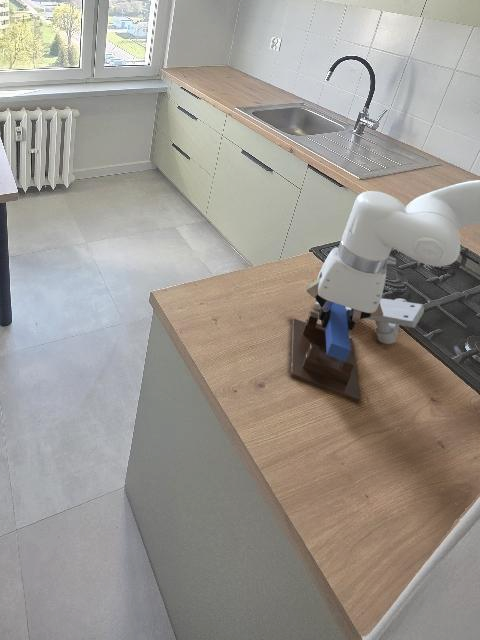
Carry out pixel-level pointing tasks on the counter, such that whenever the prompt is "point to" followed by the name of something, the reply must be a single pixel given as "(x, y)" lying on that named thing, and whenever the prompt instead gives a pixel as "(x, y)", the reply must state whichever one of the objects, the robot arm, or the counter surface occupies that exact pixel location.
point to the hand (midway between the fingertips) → (333, 325)
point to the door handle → (394, 317)
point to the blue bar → (337, 333)
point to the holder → (321, 360)
